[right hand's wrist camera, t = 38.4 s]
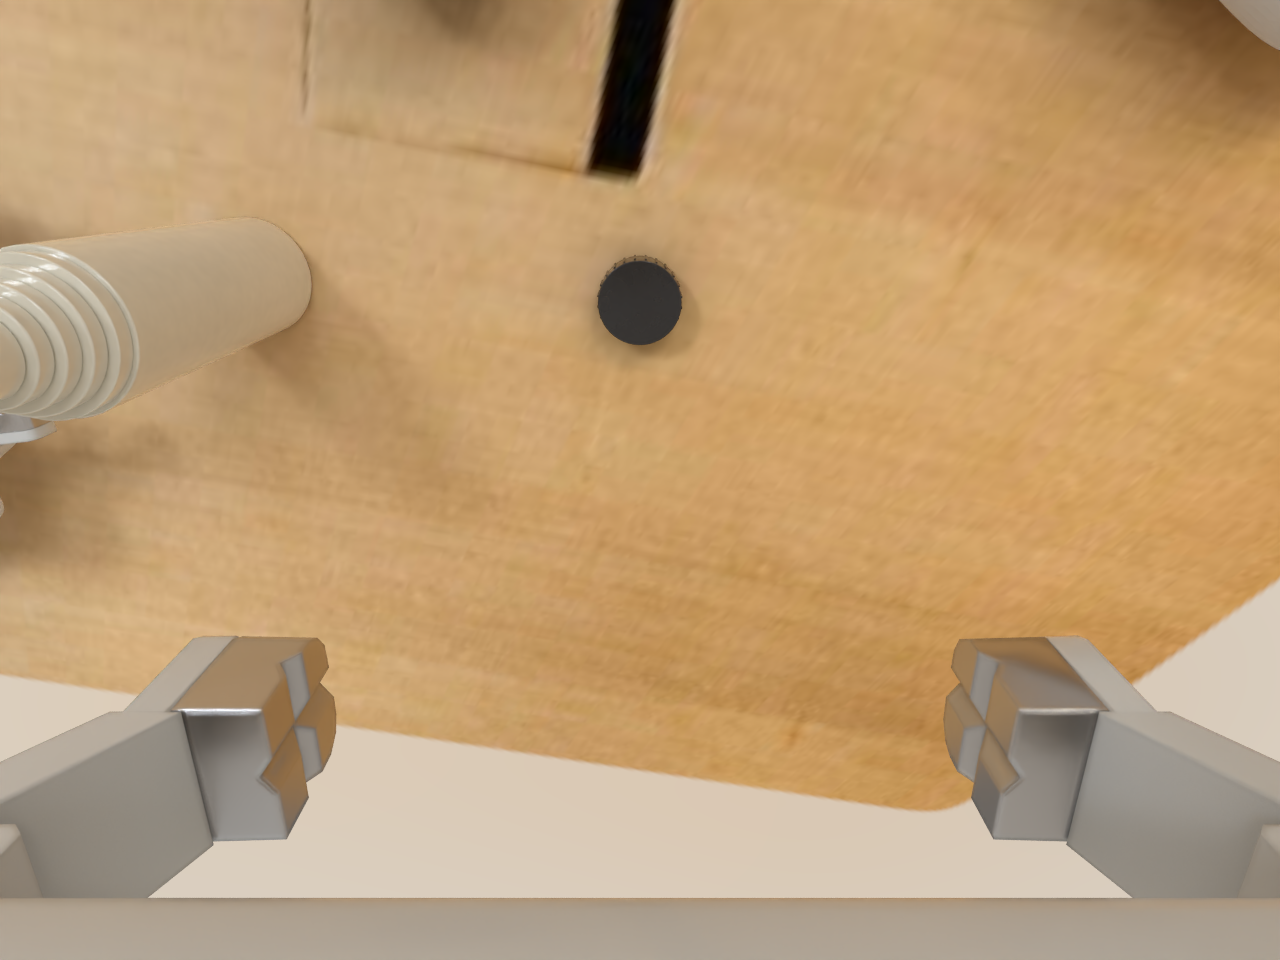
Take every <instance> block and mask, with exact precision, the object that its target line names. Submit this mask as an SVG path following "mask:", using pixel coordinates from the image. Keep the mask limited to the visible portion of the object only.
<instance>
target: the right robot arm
mask: <svg viewBox="0 0 1280 960" xmlns="http://www.w3.org/2000/svg"><path fill="white" fill-rule="evenodd" d="M328 668H329V665H328V660H327V656H326V651H325V646H324V644H323V643H322V642H321V641H320V640H319V639H318V638H299V637H249V636H242V637H238V636H203V637H198V638H194V639H192V640H191V641H190V642H189V643H188V644H187V646H186V647H185V648H184V649H183V650H182V651H181V652H180V653H179V654H178V655H177V656H176V657H175V658H174V659H173V660H172V661H171V662H170V663H169V664H168V665H167V666H166V667H165V668H164V669H163V670H162V671H161V673H160V674H159V675H158V676H157V677H156V678H155V679H154V680H153V681H152V682H151V683H150V684H149V685H148V686H147V687H146V688H145V689H144V690H143V691H142V692H141V693H140V694H139V695H138V696H137V697H136V698H135V700H134V701H133V702H132V703H131V704H130V705H129V706H128V707H127V708H126V709H125V710H124V711H123V712H108V713H106V714H104V715H102V716H99V717H97V718H95V719H93V720H91V721H89V722H86V723H84V724H82V725H80V726H78V727H75V728H73V729H71V730H69V731H67V732H65V733H62V734H60V735H58V736H56V737H54V738H52V739H49V740H47V741H45V742H43V743H41V744H39V745H36V746H34V747H32V748H30V749H28V750H25V751H23V752H21V753H19V754H17V755H15V756H12V757H10V758H8V759H6V760H4V761H1V762H0V960H1280V762H1278V761H1276V760H1274V759H1272V758H1270V757H1267V756H1265V755H1263V754H1261V753H1259V752H1257V751H1254V750H1252V749H1250V748H1248V747H1246V746H1243V745H1241V744H1239V743H1237V742H1235V741H1233V740H1230V739H1228V738H1226V737H1224V736H1222V735H1220V734H1217V733H1215V732H1213V731H1211V730H1209V729H1207V728H1204V727H1202V726H1200V725H1198V724H1196V723H1194V722H1191V721H1189V720H1187V719H1185V718H1183V717H1181V716H1178V715H1176V714H1174V713H1172V712H1157V711H1156V710H1155V709H1154V708H1153V707H1152V706H1151V705H1150V704H1149V703H1148V702H1147V701H1146V699H1145V698H1144V697H1143V696H1142V695H1141V694H1140V693H1139V692H1138V691H1137V690H1136V689H1135V688H1134V687H1133V686H1132V685H1131V684H1130V683H1129V682H1128V681H1127V680H1126V679H1125V678H1124V677H1123V676H1122V674H1121V673H1120V672H1119V671H1118V670H1117V669H1116V668H1115V667H1114V666H1113V665H1112V664H1111V663H1110V662H1109V661H1108V660H1107V659H1106V658H1105V657H1104V656H1103V655H1102V654H1101V653H1100V652H1099V651H1098V650H1097V648H1096V647H1095V646H1094V645H1093V644H1092V643H1091V642H1090V641H1089V640H1088V639H1085V638H1083V637H1080V636H1052V637H1026V638H986V639H959V641H958V643H957V645H956V647H955V650H954V654H953V659H952V665H951V668H952V670H953V671H954V673H955V675H956V676H957V678H958V680H959V681H960V683H959V684H958V685H957V686H956V687H955V688H954V689H953V691H952V692H951V693H950V694H949V695H948V696H947V697H946V703H945V711H944V719H943V720H944V731H945V741H946V745H947V748H948V751H949V755H950V758H951V760H952V762H953V764H954V766H955V768H956V770H957V771H958V772H959V773H961V774H962V775H964V776H965V777H967V778H968V779H969V780H971V781H972V782H974V785H973V791H972V796H971V798H972V800H973V802H974V804H975V806H976V807H977V809H978V811H979V813H980V815H981V817H982V819H983V820H984V822H985V824H986V826H987V828H988V830H989V831H990V833H991V835H992V837H993V839H1000V840H1037V841H1067V844H1066V845H1068V846H1069V847H1070V848H1071V849H1072V850H1074V851H1075V852H1076V853H1077V854H1079V855H1080V856H1081V857H1082V858H1084V859H1085V860H1086V861H1088V862H1089V863H1090V864H1091V865H1092V866H1094V867H1095V868H1096V869H1097V870H1099V871H1100V872H1101V873H1102V874H1104V875H1105V876H1106V877H1107V878H1109V879H1110V880H1111V881H1112V882H1114V883H1115V884H1116V885H1117V886H1119V887H1120V888H1121V889H1122V890H1124V891H1125V892H1126V893H1127V894H1129V895H1130V896H1131V897H1132V898H148V897H149V896H150V895H152V894H153V893H154V892H155V891H157V890H158V889H159V888H160V887H162V886H163V885H164V884H165V883H167V882H168V881H169V880H170V879H171V878H173V877H174V876H175V875H177V874H178V873H179V872H180V871H182V870H183V869H184V868H185V867H187V866H188V865H189V864H190V863H192V862H193V861H194V860H195V859H197V858H198V857H199V856H200V855H202V854H203V853H204V852H205V851H207V850H208V849H209V848H210V847H212V846H213V841H243V840H278V839H287V837H288V836H289V834H290V832H291V830H292V828H293V826H294V824H295V822H296V820H297V819H298V817H299V815H300V813H301V811H302V809H303V807H304V805H305V804H306V802H307V800H308V798H309V796H308V791H307V785H306V782H307V781H309V780H310V779H312V778H313V777H315V776H316V775H318V774H319V773H321V772H322V771H323V769H324V767H325V765H326V763H327V761H328V759H329V757H330V755H331V752H332V747H333V743H334V739H335V734H336V709H335V702H334V697H333V696H332V695H331V694H330V693H329V692H328V691H327V689H326V688H325V687H324V686H323V685H322V684H321V683H320V681H321V680H322V678H323V676H324V675H325V673H326V671H327V670H328Z"/></svg>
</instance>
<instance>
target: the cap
mask: <svg viewBox="0 0 1280 960" xmlns="http://www.w3.org/2000/svg"><path fill="white" fill-rule="evenodd" d="M600 286H601V289H600V290H599V293H598V296H597V297H598V309H599V314H600V318H601V319H602V321H603V323H604V325H605V327H606V328H607V329H608V331H609V332H610V333H611V334H612V335H614V336H615V337H616V338H618V339H619V340H621V341H623V342H626V343H629V344H634V345H646V344H651V343H654V342H656V341H658V340H660V339H662V338H663V337H665V336H666V335H667V334H668V333H669V332H670V331H671V330H672V329H673V327H674V326H675V325H676V323H677V321H678V319H679V316H680V312H681V309H682V306H681V298H682V294H681V291H680V290H679V287H680V286H679V283H678V281H676V279H675V276H674V273H673V271H672V272H671V271H670V270H669V268H668V267H667V266H666V264H663V263H661V262H660V261H658V260H657V258H655V259H654V258H651V257H647V255H645V256H636V255H634V256H633V257H629V258H626V259H625V258H623V260H622V261H620V262H618V263H617V264H616V263H615V264H614V266H613V267H612V268H611V269H610V270H609V271H607V273H606V276H605V278H604V280H602V281H601V284H600Z"/></svg>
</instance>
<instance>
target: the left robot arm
mask: <svg viewBox="0 0 1280 960" xmlns="http://www.w3.org/2000/svg"><path fill="white" fill-rule="evenodd" d="M56 431H57V428H56V425H55V423H54V421H49V420H41V419H35V418H31V417H25V416H19V415H15V414H6V413H0V458H1V457H2V456H3V455H4V454H5V453H6V452H7V451H9V450H10V449H11V448H12V447H13V446H14V445H15V444H16V443H21V442H29V441H33V440H37V439H40V438H43V437H45V436H47V435H49V434H51V433H53V432H56ZM3 513H4V505H3V502H2V499H1V497H0V517H1V516H2V514H3Z"/></svg>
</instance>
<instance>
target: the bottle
mask: <svg viewBox="0 0 1280 960" xmlns="http://www.w3.org/2000/svg"><path fill="white" fill-rule="evenodd" d="M311 289H312V282H311V274H310V269H309V266H308V263H307V261H306V259H305V257H304V254H303V253H302V251H301V250H300V248H299V247H298V245H297V244H296V243H295V241H294V240H293V239H292V238H291V237H290V236H289V235H288V234H286V233H285V232H284V231H283V230H281V229H280V228H278V227H277V226H275V225H273V224H271V223H269V222H267V221H264V220H261V219H258V218H253V217H233V218H225V219H217V220H209V221H201V222H193V223H185V224H177V225H169V226H161V227H153V228H145V229H137V230H129V231H121V232H113V233H105V234H97V235H89V236H81V237H73V238H64V239H56V240H48V241H40V242H32V243H24V244H16V245H11V246H6V247H3V248H0V413H6V414H15V415H19V416H25V417H31V418H35V419H41V420H49V421H63V420H71V419H79V418H87V417H92V416H96V415H99V414H101V413H104V412H106V411H108V410H111V409H113V408H115V407H117V406H119V405H121V404H124V403H126V402H128V401H130V400H132V399H135V398H137V397H139V396H141V395H143V394H145V393H148V392H150V391H152V390H154V389H156V388H159V387H161V386H163V385H165V384H167V383H169V382H172V381H174V380H176V379H178V378H180V377H183V376H185V375H187V374H189V373H191V372H193V371H196V370H198V369H200V368H202V367H204V366H207V365H209V364H211V363H213V362H215V361H217V360H220V359H222V358H224V357H226V356H228V355H231V354H233V353H235V352H237V351H239V350H241V349H244V348H246V347H248V346H250V345H252V344H254V343H257V342H259V341H261V340H263V339H265V338H268V337H270V336H272V335H274V334H276V333H278V332H281V331H283V330H285V329H287V328H289V327H290V326H292V325H293V324H294V323H296V322H297V321H298V320H299V319H300V318H301V316H302V315H303V314H304V312H305V310H306V308H307V306H308V303H309V301H310V296H311Z"/></svg>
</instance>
